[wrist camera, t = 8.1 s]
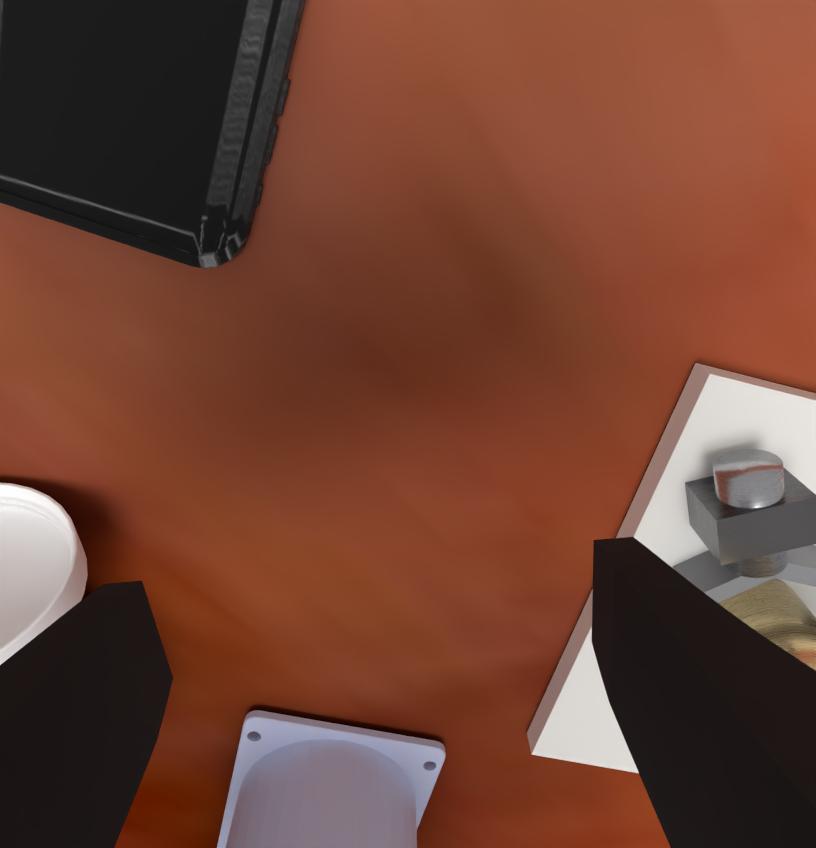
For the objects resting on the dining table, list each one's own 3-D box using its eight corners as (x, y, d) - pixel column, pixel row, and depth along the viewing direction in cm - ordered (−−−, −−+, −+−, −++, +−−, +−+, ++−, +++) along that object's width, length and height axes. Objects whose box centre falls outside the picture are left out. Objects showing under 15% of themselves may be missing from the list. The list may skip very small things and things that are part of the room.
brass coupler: (826, 598, 22) (982, 776, 16) (756, 678, 24) (874, 867, 18) (727, 561, 21) (852, 732, 16) (662, 646, 23) (752, 832, 17)
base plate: (753, 773, 27) (788, 834, 25) (526, 732, 26) (539, 792, 24) (980, 435, 21) (1054, 473, 19) (695, 362, 20) (735, 394, 17)
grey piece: (779, 526, 21) (819, 568, 19) (692, 547, 21) (722, 589, 19) (774, 434, 20) (817, 468, 18) (681, 457, 20) (713, 493, 18)
